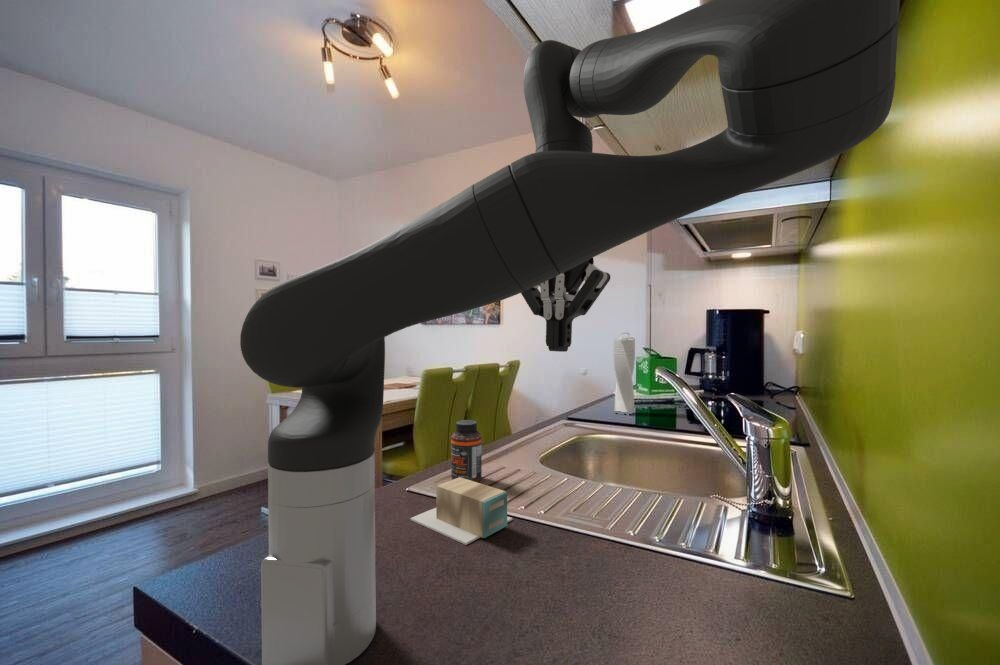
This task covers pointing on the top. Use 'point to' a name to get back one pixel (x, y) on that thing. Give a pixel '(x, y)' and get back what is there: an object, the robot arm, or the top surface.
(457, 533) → the grey mat
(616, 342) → the skyscraper
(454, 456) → the supplement bottle
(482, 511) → the beech block
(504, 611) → the top surface
